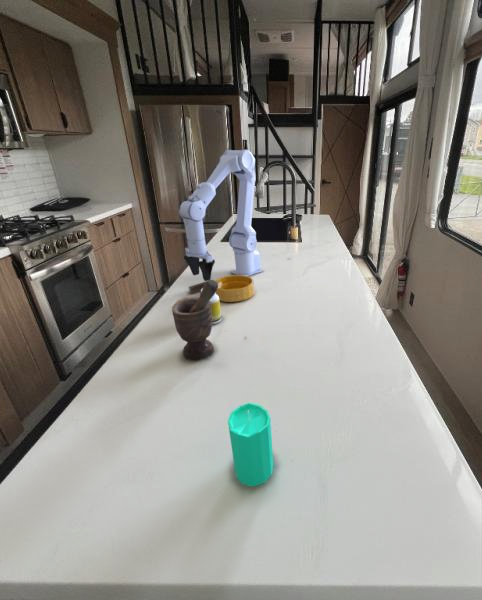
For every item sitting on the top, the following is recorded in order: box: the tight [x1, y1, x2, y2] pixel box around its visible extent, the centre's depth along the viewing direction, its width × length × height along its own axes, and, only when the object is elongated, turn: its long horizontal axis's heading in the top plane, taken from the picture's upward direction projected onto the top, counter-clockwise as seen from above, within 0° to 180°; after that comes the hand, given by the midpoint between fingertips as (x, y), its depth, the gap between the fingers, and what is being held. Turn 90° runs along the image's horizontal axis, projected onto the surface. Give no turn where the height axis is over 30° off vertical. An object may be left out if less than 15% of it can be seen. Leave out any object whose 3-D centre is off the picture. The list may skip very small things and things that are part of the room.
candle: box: [227, 402, 274, 487], centre depth 48 cm, size 6×6×12 cm
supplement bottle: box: [200, 288, 223, 325], centre depth 92 cm, size 5×5×10 cm
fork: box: [188, 281, 207, 295], centre depth 116 cm, size 16×2×2 cm, turn 134°
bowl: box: [215, 274, 255, 303], centre depth 108 cm, size 13×13×4 cm
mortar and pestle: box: [171, 279, 218, 362], centre depth 75 cm, size 12×9×20 cm
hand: (201, 277), depth 112 cm, fingers open, 7 cm apart
